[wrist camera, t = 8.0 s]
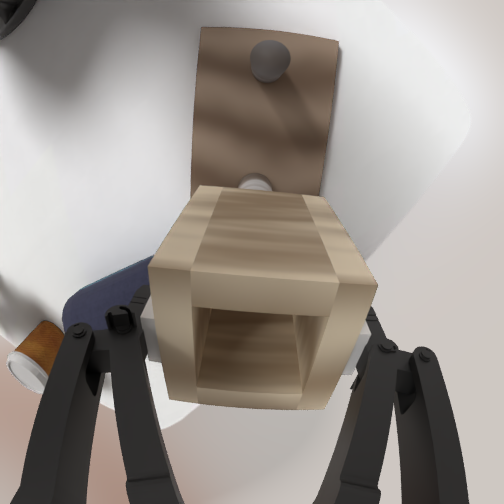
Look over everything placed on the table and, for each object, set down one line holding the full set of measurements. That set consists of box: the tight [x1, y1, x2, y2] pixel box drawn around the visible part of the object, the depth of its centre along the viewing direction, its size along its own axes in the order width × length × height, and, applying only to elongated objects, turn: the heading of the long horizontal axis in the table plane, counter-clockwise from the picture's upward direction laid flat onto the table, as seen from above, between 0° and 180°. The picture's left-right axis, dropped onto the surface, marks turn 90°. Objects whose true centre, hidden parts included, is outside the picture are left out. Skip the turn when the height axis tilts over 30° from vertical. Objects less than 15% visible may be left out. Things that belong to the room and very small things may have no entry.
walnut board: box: [191, 27, 339, 198], centre depth 25 cm, size 22×14×9 cm, turn 175°
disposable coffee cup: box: [6, 321, 64, 394], centre depth 40 cm, size 10×10×12 cm
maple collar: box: [148, 185, 378, 410], centre depth 16 cm, size 8×8×10 cm
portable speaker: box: [62, 255, 154, 333], centre depth 35 cm, size 25×10×10 cm, turn 114°
